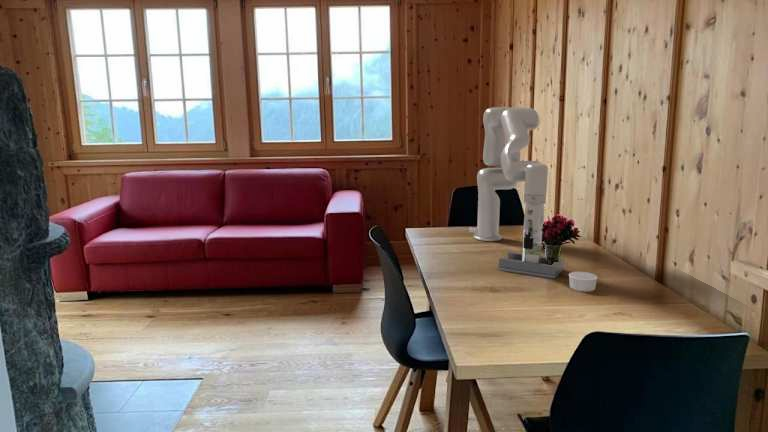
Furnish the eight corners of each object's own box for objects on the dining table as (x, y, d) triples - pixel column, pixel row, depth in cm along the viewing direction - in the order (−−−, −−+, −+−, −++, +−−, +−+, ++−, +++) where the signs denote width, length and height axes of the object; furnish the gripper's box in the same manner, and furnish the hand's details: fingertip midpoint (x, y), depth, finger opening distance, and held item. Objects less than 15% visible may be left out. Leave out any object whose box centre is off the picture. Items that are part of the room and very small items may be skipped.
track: (498, 270, 197) (498, 259, 196) (509, 261, 208) (509, 251, 207) (554, 278, 187) (555, 267, 186) (562, 269, 198) (563, 258, 197)
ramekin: (598, 293, 172) (600, 280, 172) (569, 291, 174) (570, 278, 173) (594, 284, 181) (595, 272, 180) (566, 283, 183) (567, 270, 182)
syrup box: (537, 264, 200) (539, 226, 197) (540, 269, 194) (542, 229, 191) (521, 264, 200) (523, 225, 198) (523, 268, 195) (525, 229, 192)
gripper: (539, 203, 183) (535, 252, 187) (551, 196, 198) (548, 241, 201) (517, 201, 187) (514, 249, 190) (530, 194, 201) (528, 239, 205)
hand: (531, 245), depth 196 cm, fingers open, 9 cm apart
